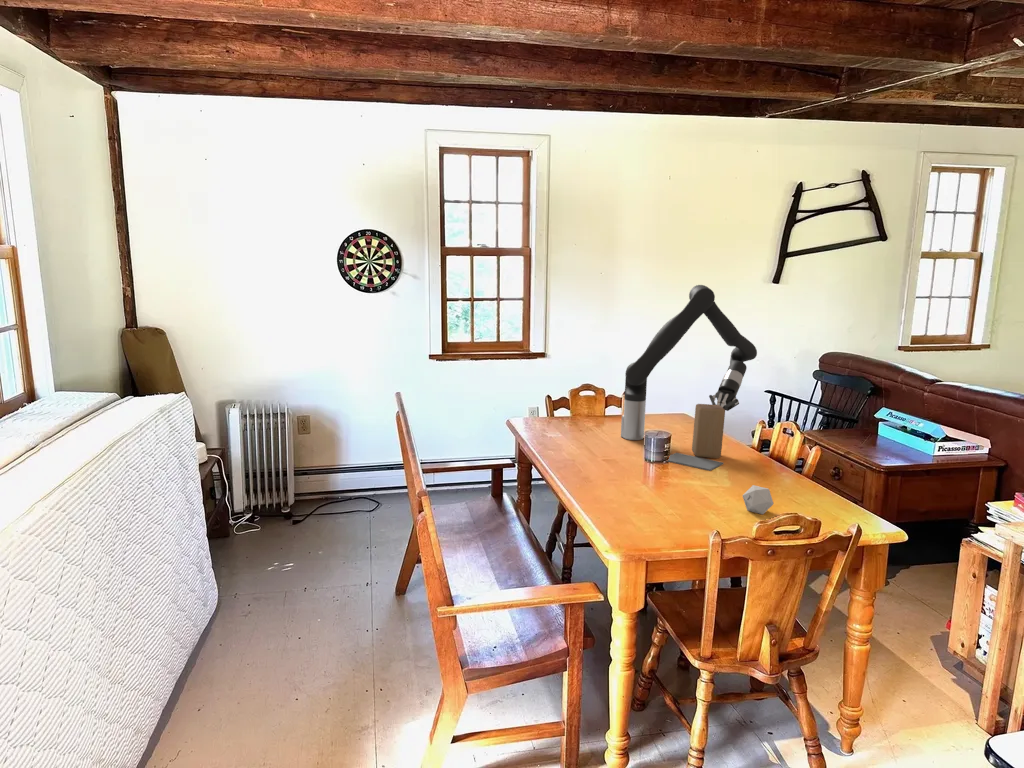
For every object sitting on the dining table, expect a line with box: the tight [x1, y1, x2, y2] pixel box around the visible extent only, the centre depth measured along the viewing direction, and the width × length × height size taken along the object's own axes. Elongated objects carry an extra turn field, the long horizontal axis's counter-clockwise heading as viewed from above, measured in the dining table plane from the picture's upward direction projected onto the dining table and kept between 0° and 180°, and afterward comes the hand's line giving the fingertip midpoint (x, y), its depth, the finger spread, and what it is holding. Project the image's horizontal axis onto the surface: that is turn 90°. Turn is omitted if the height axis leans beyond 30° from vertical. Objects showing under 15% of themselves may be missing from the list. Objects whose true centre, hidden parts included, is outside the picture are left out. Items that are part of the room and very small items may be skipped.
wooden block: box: [691, 403, 726, 459], centre depth 271 cm, size 10×10×20 cm
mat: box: [667, 452, 724, 472], centre depth 264 cm, size 20×12×1 cm, turn 49°
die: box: [741, 484, 774, 515], centre depth 212 cm, size 8×9×10 cm
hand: (716, 416), depth 276 cm, fingers closed
